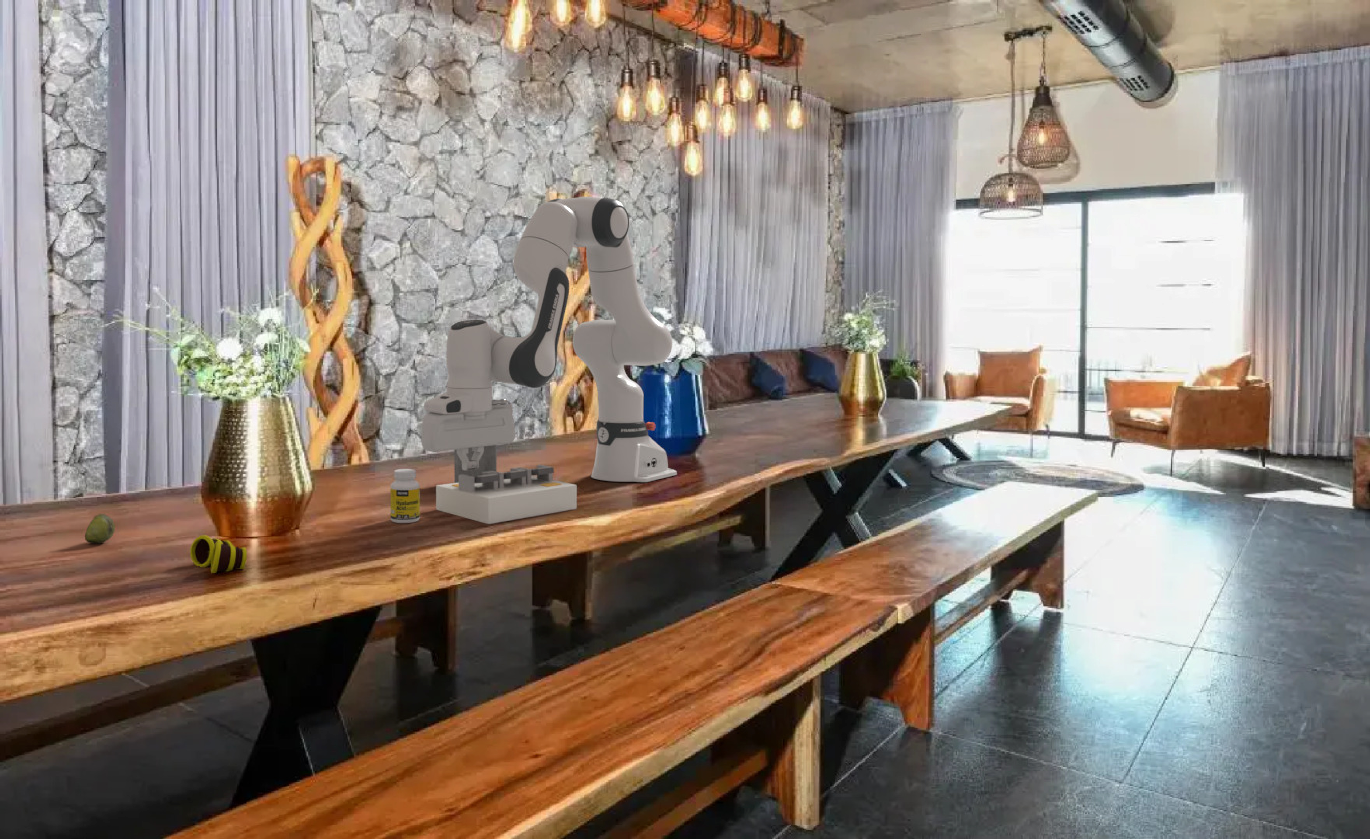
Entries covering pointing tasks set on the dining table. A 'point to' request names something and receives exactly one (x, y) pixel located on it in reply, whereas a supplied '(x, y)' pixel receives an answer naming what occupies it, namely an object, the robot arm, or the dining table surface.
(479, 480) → the rocker
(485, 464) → the hip flask
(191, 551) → the brown and yellow tube
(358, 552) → the dining table surface
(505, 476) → the rocker
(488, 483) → the switch console
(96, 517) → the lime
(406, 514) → the supplement bottle
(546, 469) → the rocker
